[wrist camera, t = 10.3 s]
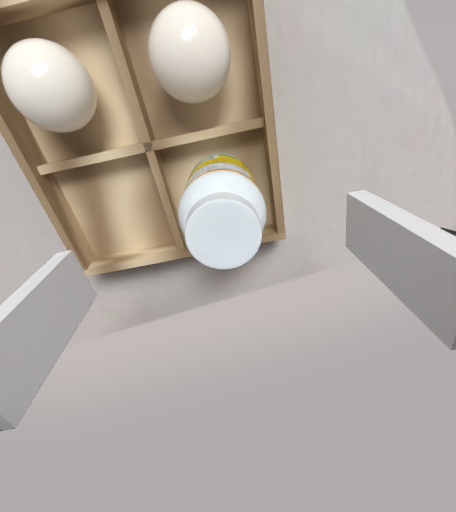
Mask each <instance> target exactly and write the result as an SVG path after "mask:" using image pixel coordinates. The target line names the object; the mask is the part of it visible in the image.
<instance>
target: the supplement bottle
mask: <svg viewBox="0 0 456 512" xmlns="http://www.w3.org/2000/svg"><path fill="white" fill-rule="evenodd" d="M178 217H179V223H180V227H181V229H182V232H183V234H184V235H185V241H186V245H187V247H188V249H189V251H190V253H191V254H192V255H193V257H194V258H195V259H196V260H198V261H199V262H200V263H202V264H203V265H205V266H208V267H211V268H214V269H232V268H236V267H239V266H241V265H243V264H245V263H246V262H248V261H249V260H250V259H251V258H252V257H253V256H254V255H255V254H256V252H257V251H258V249H259V247H260V244H261V240H262V231H263V229H264V226H265V222H266V205H265V201H264V198H263V195H262V193H261V191H260V189H259V188H258V186H257V184H256V182H255V180H254V178H253V176H252V175H251V173H250V171H249V170H248V168H247V166H246V165H245V164H244V163H243V162H242V161H241V160H240V159H238V158H236V157H234V156H232V155H228V154H213V155H210V156H207V157H205V158H203V159H202V160H201V161H199V162H198V163H197V164H196V165H195V167H194V168H193V170H192V171H191V173H190V175H189V178H188V181H187V184H186V186H185V189H184V191H183V194H182V196H181V199H180V203H179V209H178Z"/></svg>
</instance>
